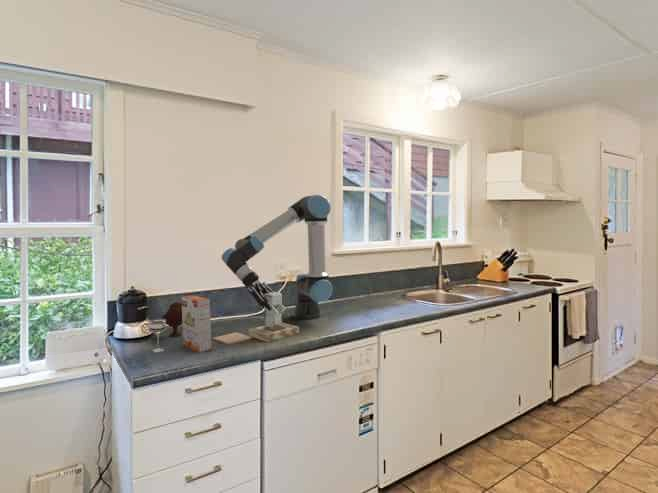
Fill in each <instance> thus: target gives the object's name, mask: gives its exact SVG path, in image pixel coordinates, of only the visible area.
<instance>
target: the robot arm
mask: <svg viewBox="0 0 658 493" xmlns="http://www.w3.org/2000/svg"><path fill="white" fill-rule="evenodd" d="M331 209H332V208H331V203H330V200H329V199H328V198H327V197H326V196H324V195H321V194H313V195H307V196H303V197H302V198H300V199H299V200H297V201H296V202H295V203H293V204H291V205H290V206H288V208H287V210H286V211H284V212H283V213H281V214H279V215H278V216H277V217H274V219H272V220H270V221H269V222H268V223H266V224H264V225H262V226H261V227H259V228H258V229H256V230H255V231H253V232H251V233H250V234H248V235H247V236H245V237H244V238H240V239H238V240H237V241H236V242H235V244H234V247H229V248H228V249H226V250H225V251H224V252H223V253H222V255H221V260H222V261H223V262H224V264H225V266H227V267H228V269H229V270H230V271H231V272H232V273H233V274H234V276H235V277H237V279H239V280H240V282H241V283H242V284H243V285H244V286H245V288H246V289H247V292H248V293H250V294H251V296H252V297H253V299H254V300H255V301H256V302H257V304H258V305H259V306H260V307H261V308H265V307H266V308H267V309H268V311H269V312H270V313H271V314H272V315H273V316H274V317H275V316H276V315H277V314H278V313H279V312H278V311H277V310H276V309H275V308H274V307H273V306H272V304H271V303H270V302H267V300H266V298H265V297H264V294H265V293H270V292H275V291H274V290H273V289H272V288H271V287H270V286H269V285H268V284H267V283H266V282H265V281H263V282H261V280H259V278H260V277H259V275H258V273H257V272H255V271H254V269H253V268H252V267H251V266H250V265H249V264H248V263H247V262H248V261H249V260H251V259H253V257H255V256H256V255H258V254H259V253H260V252H261V251H262V250H263V249H264V248H265V245H264V244H265V243H266V242H268V241H270V239H273V238H274V237H276V236H277V235H279V234H280V233H282V232H283V231H285V230H286V229H288V228H290V227H291V226H292V225H294V224H296V223H300V222H302V221H304V223H305V224H306V225H307V243H308V244H307V245H308V246H307V248H308V272H307V273H303V274H298V275H296V277H295V284H296V285H295V286H296V288H295V289H296V291H295V292H296V303H295V307H294V310H293V317H294V318H295V319H296V318H297V319H301V320H303V319H304V320H308V319H311V320H312V319H317V318H320V317H322V310H321V307H320V304H319V303H325V301H328V300H329V299H330V297H331V296H332V294H333V289H334V288H333V285H332V283H331V282H330V279H329V278H330V277H329V274H328V272H327V269H326V240H325V239H326V238H325V237H326V236H325V235H326V234H325V232H326V231H325V225H326V224H327V222H328V215H330V214H331V213H330V212H331ZM286 310H287V308H286V307H285V306H284V305H283V304H282V314H283V313H284V312H285V311H286Z"/></svg>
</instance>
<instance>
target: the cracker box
mask: <svg viewBox="0 0 658 493" xmlns="http://www.w3.org/2000/svg"><path fill="white" fill-rule="evenodd" d="M181 304H182V341H183V342H182V345H183V346H184V347H185V348H188V349H190V350H192V351H194V352H197V353H200V354H201V353H203V352H206V351H207V352H208V351H211V350H212V325H211V324H212V322H211V317H212V316H211V299H209V298H205V297H202V296H198V295H194V294H193V295H185V296H181Z"/></svg>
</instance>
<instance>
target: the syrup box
mask: <svg viewBox="0 0 658 493" xmlns="http://www.w3.org/2000/svg"><path fill="white" fill-rule="evenodd" d="M263 295H264V297H265V298H266V300H267V302H270V303H271V304H272V306H273V307H274V308H275V309H276V310H277V311H278V312H279V313H278V314H277V315H276V316H275V317H274V316H273V315H272V314H271V313H270V312H269V311H268V309H267V308H266V307H265V306H264V326H265V325H269V326H276V325H279V324H282V323H283V313H282V305H283V300H282V298H283V296H282V295H283V293H281V292H279V291H274V292H270V293H265V294H263Z"/></svg>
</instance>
